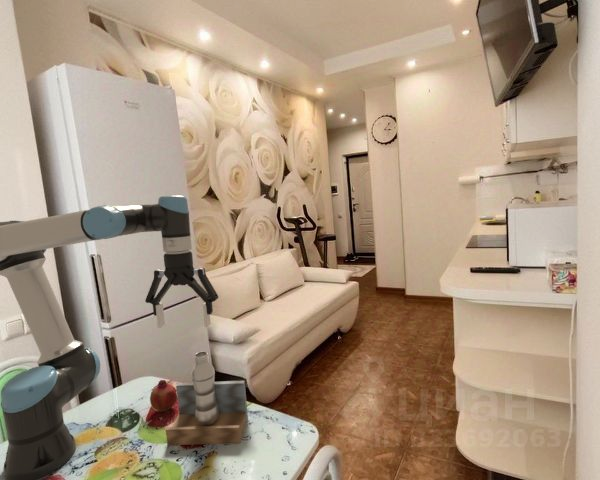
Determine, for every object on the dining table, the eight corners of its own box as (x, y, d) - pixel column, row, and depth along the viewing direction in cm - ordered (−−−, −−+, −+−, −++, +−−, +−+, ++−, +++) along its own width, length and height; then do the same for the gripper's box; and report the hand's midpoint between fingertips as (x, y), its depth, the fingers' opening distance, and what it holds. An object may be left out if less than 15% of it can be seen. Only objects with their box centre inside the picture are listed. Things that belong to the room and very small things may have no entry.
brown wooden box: (167, 445, 94) (162, 403, 93) (182, 420, 105) (178, 383, 104) (240, 443, 93) (236, 401, 92) (248, 418, 104) (244, 380, 102)
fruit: (165, 400, 117) (162, 372, 116) (183, 405, 113) (180, 376, 112) (145, 414, 110) (142, 384, 108) (164, 420, 106) (160, 388, 105)
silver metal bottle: (222, 414, 102) (216, 348, 99) (214, 429, 95) (208, 359, 93) (201, 414, 102) (194, 349, 100) (192, 429, 96) (184, 360, 93)
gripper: (127, 255, 94) (135, 331, 96) (217, 252, 92) (223, 329, 94) (141, 251, 101) (149, 321, 104) (225, 248, 99) (230, 320, 102)
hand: (184, 325), depth 99 cm, fingers open, 13 cm apart
